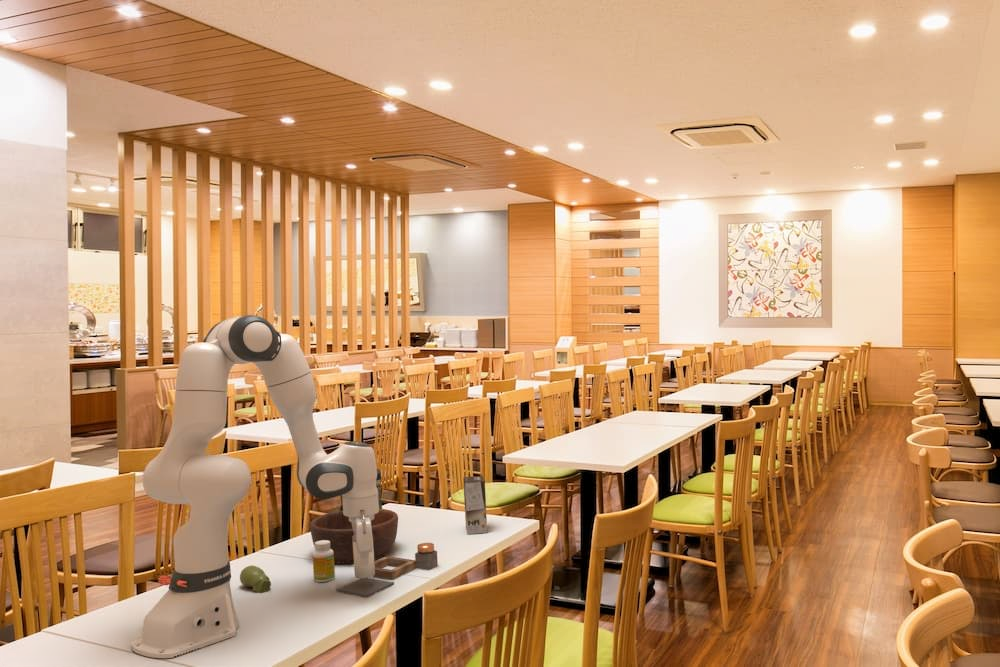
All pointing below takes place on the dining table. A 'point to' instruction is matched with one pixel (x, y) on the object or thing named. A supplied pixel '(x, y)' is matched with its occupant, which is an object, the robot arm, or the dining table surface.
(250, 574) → the pear
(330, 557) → the supplement bottle
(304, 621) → the dining table surface
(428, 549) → the plunger
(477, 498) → the coffee box
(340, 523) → the wooden bowl
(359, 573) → the cylinder
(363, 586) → the pad
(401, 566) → the square wooden frame
